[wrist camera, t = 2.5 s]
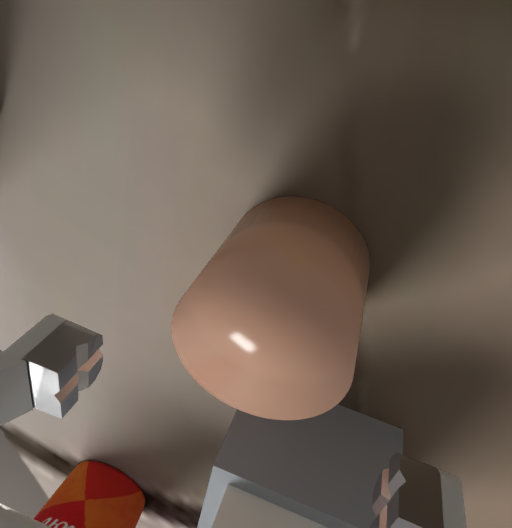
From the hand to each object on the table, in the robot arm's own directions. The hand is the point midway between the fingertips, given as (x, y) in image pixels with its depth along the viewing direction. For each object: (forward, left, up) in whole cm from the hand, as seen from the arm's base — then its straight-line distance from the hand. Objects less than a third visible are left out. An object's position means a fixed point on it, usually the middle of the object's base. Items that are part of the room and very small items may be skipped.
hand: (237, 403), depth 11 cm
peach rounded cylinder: (-1, 0, -6) cm, 6 cm away
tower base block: (+9, +3, -6) cm, 12 cm away
